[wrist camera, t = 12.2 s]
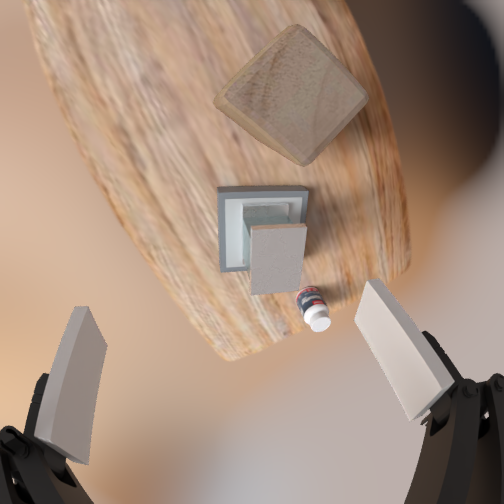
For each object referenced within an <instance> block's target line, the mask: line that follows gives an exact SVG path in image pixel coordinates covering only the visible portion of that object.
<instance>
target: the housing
mask: <svg viewBox="0 0 504 504" xmlns="http://www.w3.org/2000/svg"><path fill="white" fill-rule="evenodd" d="M288 211H289V204H288V203H287V202H279V203H250V204H242V264H243V265H244V264H245V265H246V269H247V272H248V276H249V279H250V289H249V290H250V294H251V295H260V294H270V293H280V292H289V291H298V290H299V286H300V279H301V272H302V265H303V257H304V250H305V242H306V234H307V226H306V225H305V224H304V223H300V224H294V223H293V222H292V221H291V219H290V218H289V216H288Z"/></svg>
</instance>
